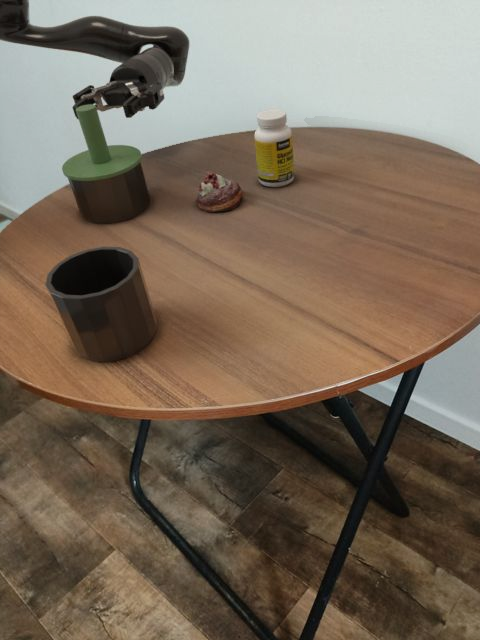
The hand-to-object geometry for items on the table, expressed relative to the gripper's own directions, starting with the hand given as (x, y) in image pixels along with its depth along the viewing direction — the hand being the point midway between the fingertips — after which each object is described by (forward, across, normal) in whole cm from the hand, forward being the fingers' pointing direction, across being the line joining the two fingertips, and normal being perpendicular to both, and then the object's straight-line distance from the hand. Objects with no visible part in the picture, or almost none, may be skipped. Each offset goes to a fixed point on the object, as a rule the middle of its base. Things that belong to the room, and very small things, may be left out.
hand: (101, 112), depth 82 cm
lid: (+4, 0, -7) cm, 8 cm away
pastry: (+2, -18, -14) cm, 23 cm away
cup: (+36, -14, -14) cm, 41 cm away
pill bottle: (-6, -26, -14) cm, 30 cm away
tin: (+4, 0, -14) cm, 15 cm away
